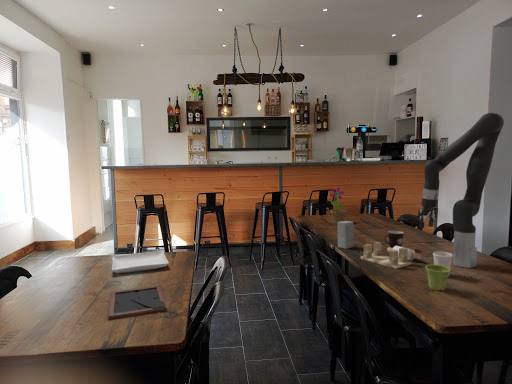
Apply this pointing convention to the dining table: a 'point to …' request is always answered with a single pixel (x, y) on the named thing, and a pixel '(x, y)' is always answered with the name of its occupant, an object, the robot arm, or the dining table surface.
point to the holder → (386, 260)
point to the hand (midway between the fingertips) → (426, 227)
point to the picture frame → (136, 302)
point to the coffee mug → (395, 238)
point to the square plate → (139, 262)
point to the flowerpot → (338, 214)
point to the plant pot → (437, 276)
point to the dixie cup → (443, 259)
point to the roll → (410, 253)
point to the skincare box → (345, 234)
